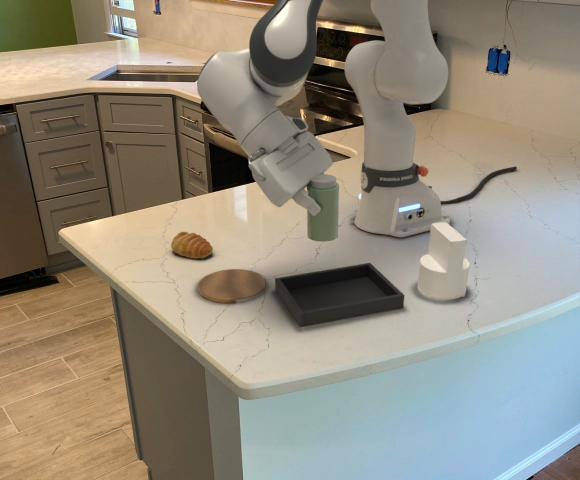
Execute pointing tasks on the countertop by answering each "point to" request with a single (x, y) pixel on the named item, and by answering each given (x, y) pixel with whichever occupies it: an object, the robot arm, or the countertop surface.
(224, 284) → the coaster
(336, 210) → the salt shaker
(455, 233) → the base with upright slab
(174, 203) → the countertop surface
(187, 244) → the pastry
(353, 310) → the tray
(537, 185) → the countertop surface
